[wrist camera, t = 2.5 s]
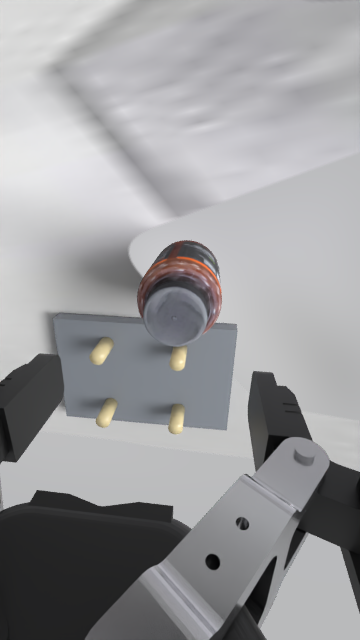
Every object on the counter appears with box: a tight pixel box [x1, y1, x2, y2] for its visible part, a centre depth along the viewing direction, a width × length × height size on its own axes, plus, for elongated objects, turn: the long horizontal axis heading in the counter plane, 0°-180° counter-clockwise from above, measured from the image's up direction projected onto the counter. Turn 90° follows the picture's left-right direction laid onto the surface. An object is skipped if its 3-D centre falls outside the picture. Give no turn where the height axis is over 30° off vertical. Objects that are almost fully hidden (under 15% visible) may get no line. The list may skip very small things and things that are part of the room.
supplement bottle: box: [137, 240, 222, 347], centre depth 24 cm, size 6×6×11 cm
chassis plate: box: [53, 313, 237, 434], centre depth 32 cm, size 12×18×4 cm, turn 88°
